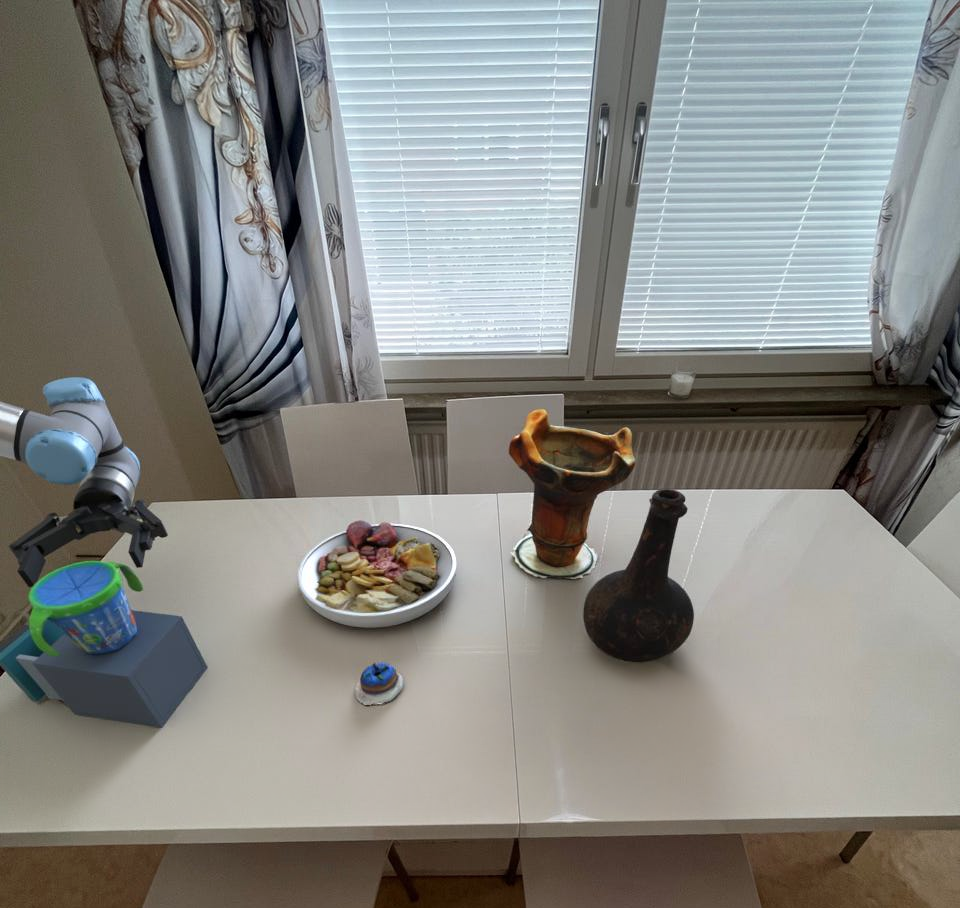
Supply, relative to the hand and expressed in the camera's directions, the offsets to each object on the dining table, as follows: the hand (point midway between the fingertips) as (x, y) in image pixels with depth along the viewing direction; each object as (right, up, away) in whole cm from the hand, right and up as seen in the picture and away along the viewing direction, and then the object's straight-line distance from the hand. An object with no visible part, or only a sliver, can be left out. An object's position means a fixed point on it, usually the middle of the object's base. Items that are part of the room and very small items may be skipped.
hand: (82, 569), depth 74 cm
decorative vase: (+72, +8, +38) cm, 82 cm away
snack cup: (+2, -10, +3) cm, 11 cm away
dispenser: (+2, -18, +11) cm, 21 cm away
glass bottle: (+82, -10, +19) cm, 85 cm away
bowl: (+36, +1, +31) cm, 48 cm away
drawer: (-9, -16, +12) cm, 22 cm away
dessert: (+39, -18, +11) cm, 45 cm away
